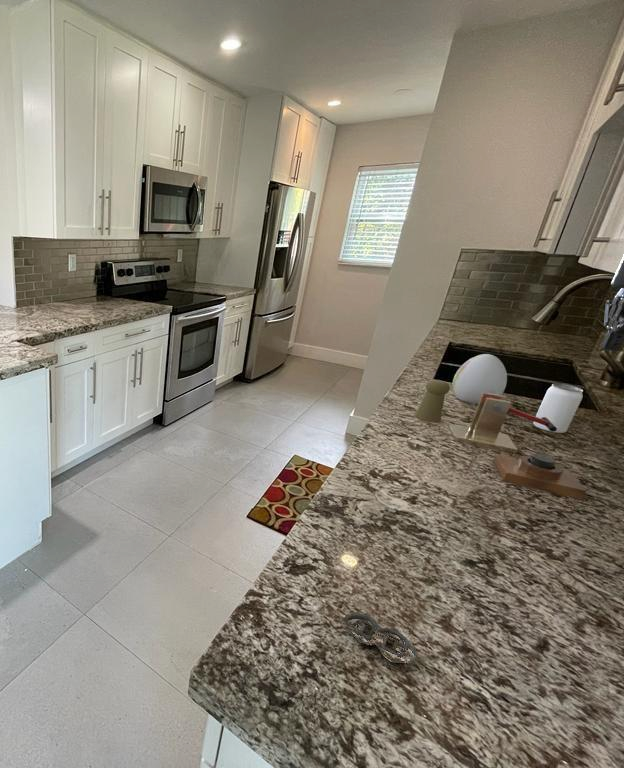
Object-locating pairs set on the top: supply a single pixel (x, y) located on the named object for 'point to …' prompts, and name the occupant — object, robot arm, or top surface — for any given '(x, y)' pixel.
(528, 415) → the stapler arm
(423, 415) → the olive pepper shaker
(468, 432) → the brass bookend
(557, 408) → the can
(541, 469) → the button block
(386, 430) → the top surface
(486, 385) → the decorative egg
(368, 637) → the corroded twin loop
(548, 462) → the button
